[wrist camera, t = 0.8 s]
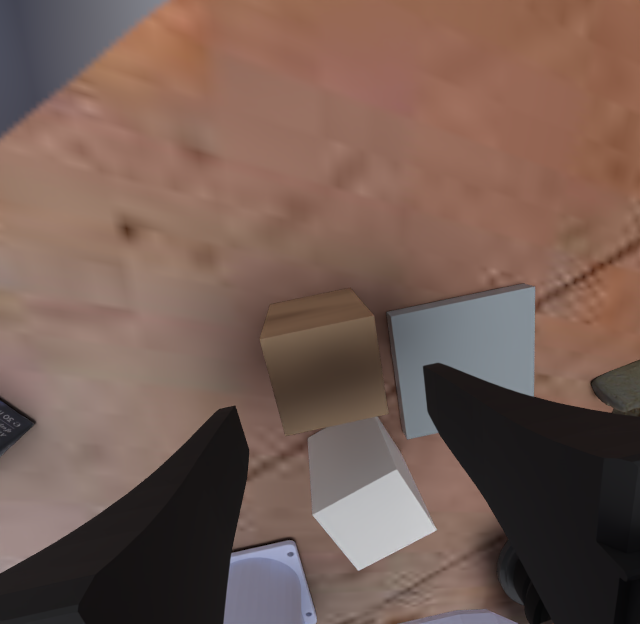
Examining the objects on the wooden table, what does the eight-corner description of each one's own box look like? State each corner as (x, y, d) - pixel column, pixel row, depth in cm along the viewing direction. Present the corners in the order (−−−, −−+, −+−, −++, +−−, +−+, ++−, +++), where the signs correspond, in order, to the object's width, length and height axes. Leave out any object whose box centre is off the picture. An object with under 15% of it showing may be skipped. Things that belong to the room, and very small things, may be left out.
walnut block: (361, 360, 20) (388, 413, 15) (287, 375, 20) (285, 436, 15) (349, 287, 19) (373, 315, 13) (270, 304, 19) (259, 339, 13)
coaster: (523, 403, 22) (533, 411, 21) (402, 430, 22) (407, 439, 21) (523, 283, 20) (535, 286, 19) (386, 312, 19) (390, 316, 19)
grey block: (400, 452, 23) (437, 530, 17) (342, 484, 23) (358, 570, 17) (369, 402, 21) (396, 469, 16) (307, 437, 22) (312, 514, 16)
